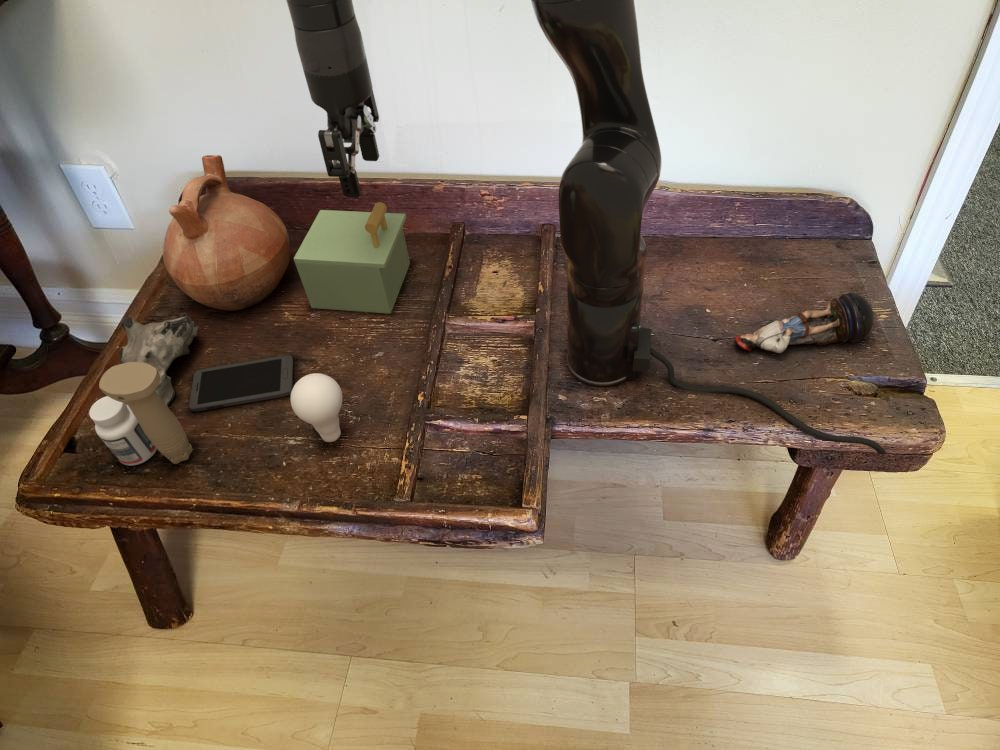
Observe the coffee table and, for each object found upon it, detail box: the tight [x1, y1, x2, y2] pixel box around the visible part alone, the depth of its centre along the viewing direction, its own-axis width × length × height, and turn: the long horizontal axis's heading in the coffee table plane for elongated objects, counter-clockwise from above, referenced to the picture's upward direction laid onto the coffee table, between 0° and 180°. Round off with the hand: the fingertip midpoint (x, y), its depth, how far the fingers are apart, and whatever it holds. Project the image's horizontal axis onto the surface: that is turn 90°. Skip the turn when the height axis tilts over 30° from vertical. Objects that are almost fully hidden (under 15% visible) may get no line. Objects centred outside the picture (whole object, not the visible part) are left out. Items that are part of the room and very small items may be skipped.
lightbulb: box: [289, 372, 343, 443], centre depth 90 cm, size 6×6×11 cm
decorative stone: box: [118, 312, 200, 408], centre depth 101 cm, size 16×9×10 cm, turn 178°
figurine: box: [734, 292, 875, 354], centre depth 98 cm, size 8×7×18 cm
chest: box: [294, 226, 411, 314], centre depth 110 cm, size 13×12×9 cm
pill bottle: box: [88, 395, 158, 467], centre depth 92 cm, size 5×5×9 cm
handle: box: [98, 362, 194, 465], centre depth 88 cm, size 5×6×15 cm
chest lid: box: [293, 201, 407, 268], centre depth 105 cm, size 14×12×5 cm
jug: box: [162, 154, 291, 312], centre depth 108 cm, size 18×18×20 cm
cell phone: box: [188, 354, 294, 413], centre depth 101 cm, size 7×14×1 cm, turn 99°
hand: (362, 177), depth 98 cm, fingers open, 8 cm apart
